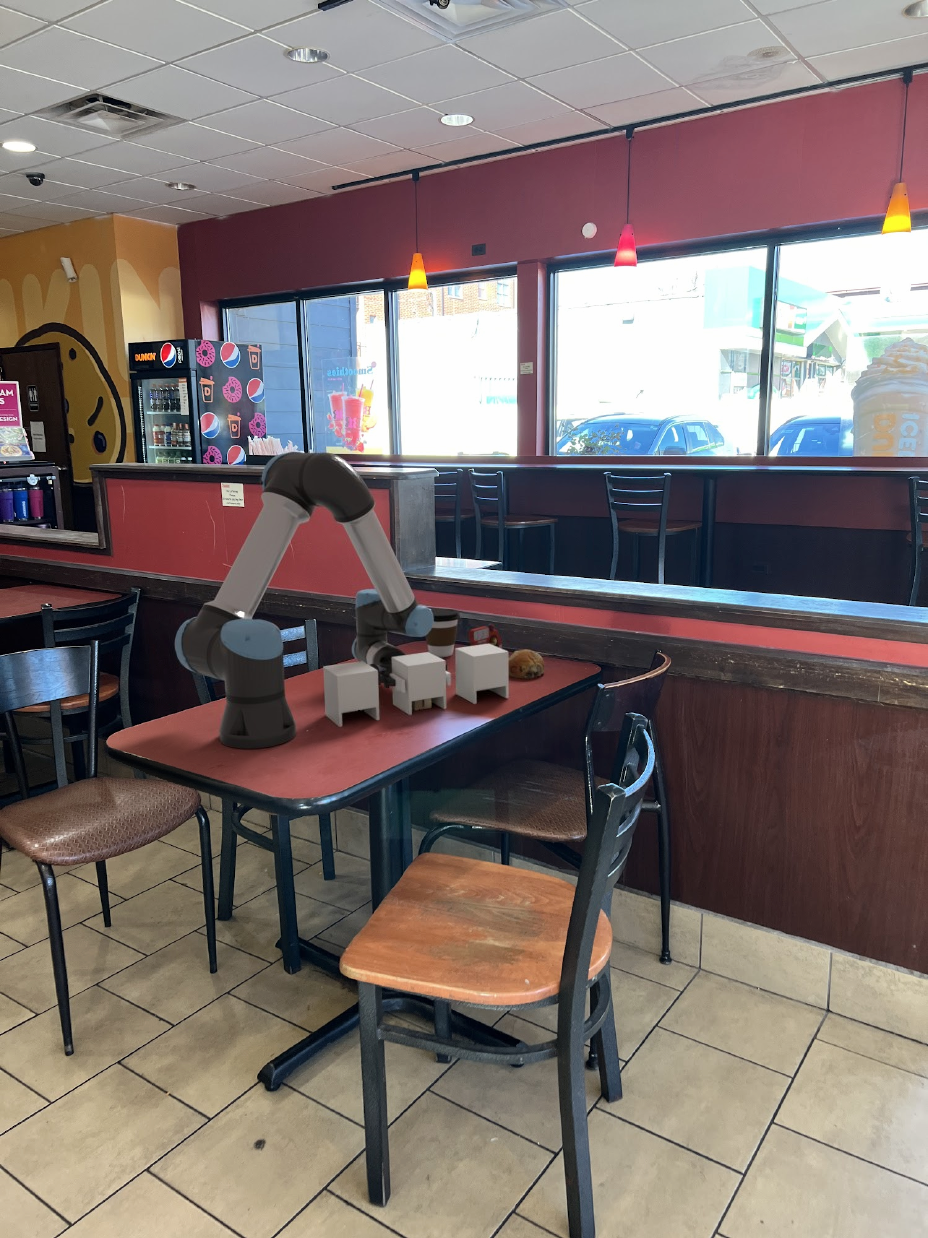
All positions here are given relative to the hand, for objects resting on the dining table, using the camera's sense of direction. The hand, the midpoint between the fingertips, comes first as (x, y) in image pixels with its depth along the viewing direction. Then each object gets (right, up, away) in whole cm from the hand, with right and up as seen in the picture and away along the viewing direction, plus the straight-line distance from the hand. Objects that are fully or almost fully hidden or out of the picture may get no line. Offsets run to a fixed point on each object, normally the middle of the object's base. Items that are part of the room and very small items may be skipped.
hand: (426, 682), depth 194 cm
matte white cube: (-16, -7, -2) cm, 18 cm away
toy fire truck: (+14, +2, +41) cm, 43 cm away
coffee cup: (+2, +4, +51) cm, 51 cm away
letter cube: (-2, -6, +5) cm, 8 cm away
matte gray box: (+12, -4, +12) cm, 18 cm away
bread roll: (+24, 0, +31) cm, 39 cm away
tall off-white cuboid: (-2, -6, +5) cm, 8 cm away
